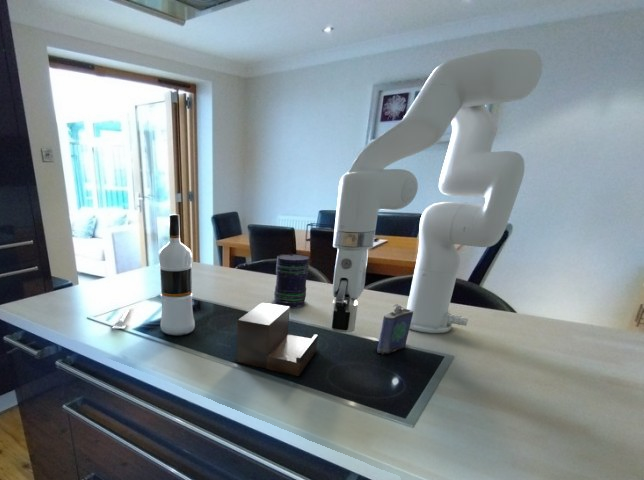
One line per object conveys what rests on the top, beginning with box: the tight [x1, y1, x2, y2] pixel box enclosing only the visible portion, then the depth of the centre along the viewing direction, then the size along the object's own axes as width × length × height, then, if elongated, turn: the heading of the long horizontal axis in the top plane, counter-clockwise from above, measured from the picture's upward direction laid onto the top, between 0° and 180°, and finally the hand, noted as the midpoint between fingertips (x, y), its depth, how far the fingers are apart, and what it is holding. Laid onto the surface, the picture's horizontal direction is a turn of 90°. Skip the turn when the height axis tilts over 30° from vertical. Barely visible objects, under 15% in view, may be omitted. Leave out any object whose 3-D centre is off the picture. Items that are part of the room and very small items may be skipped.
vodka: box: [158, 213, 196, 337], centre depth 99 cm, size 9×9×30 cm
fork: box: [110, 306, 132, 330], centre depth 112 cm, size 3×20×2 cm, turn 178°
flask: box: [376, 303, 413, 355], centre depth 90 cm, size 9×3×11 cm, turn 121°
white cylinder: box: [329, 298, 359, 334], centre depth 83 cm, size 5×5×6 cm
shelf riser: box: [236, 302, 319, 377], centre depth 87 cm, size 14×14×10 cm
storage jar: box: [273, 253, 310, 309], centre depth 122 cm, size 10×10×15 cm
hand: (342, 323), depth 84 cm, fingers closed on white cylinder, 5 cm apart
